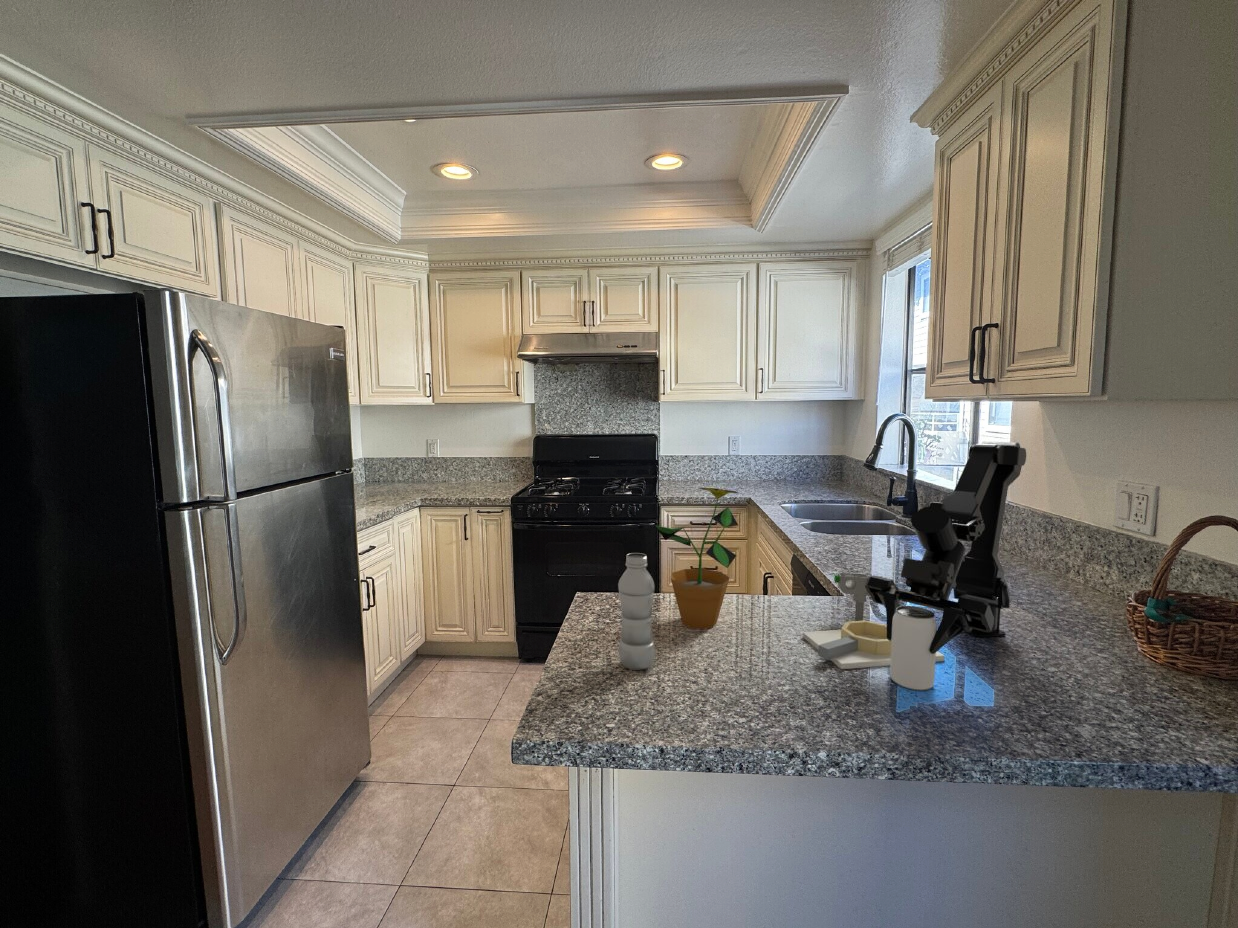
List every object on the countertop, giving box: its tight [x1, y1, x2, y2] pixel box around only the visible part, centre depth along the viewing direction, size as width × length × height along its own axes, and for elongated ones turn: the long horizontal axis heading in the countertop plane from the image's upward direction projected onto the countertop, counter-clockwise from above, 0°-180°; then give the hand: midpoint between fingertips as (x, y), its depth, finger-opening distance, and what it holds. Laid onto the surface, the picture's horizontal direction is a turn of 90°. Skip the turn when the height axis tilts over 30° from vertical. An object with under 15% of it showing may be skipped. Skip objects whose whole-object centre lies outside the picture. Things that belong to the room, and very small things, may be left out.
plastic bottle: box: [617, 552, 656, 671], centre depth 96 cm, size 6×7×20 cm
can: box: [889, 605, 938, 691], centre depth 90 cm, size 6×6×12 cm
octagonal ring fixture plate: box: [802, 619, 945, 670], centre depth 104 cm, size 25×14×4 cm, turn 99°
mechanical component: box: [833, 572, 883, 621], centre depth 117 cm, size 3×10×10 cm, turn 78°
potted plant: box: [654, 487, 739, 630], centre depth 116 cm, size 18×19×30 cm
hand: (909, 645), depth 89 cm, fingers closed on can, 6 cm apart
